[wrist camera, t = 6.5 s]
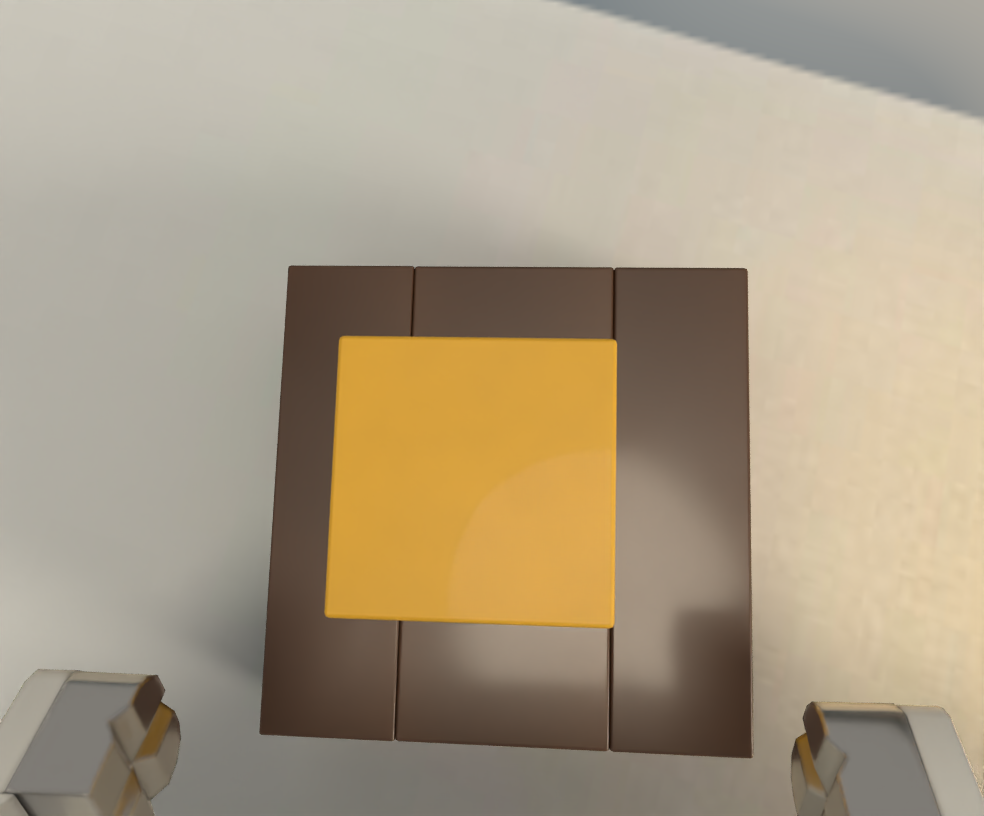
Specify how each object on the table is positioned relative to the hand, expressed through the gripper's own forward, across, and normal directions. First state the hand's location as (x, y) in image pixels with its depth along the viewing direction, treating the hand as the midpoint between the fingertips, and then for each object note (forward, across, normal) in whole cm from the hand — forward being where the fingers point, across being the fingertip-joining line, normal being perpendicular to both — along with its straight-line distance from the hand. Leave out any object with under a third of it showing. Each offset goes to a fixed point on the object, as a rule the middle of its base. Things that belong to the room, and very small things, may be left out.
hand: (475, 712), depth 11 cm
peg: (+8, 0, +4) cm, 9 cm away
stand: (+8, 0, +4) cm, 9 cm away
